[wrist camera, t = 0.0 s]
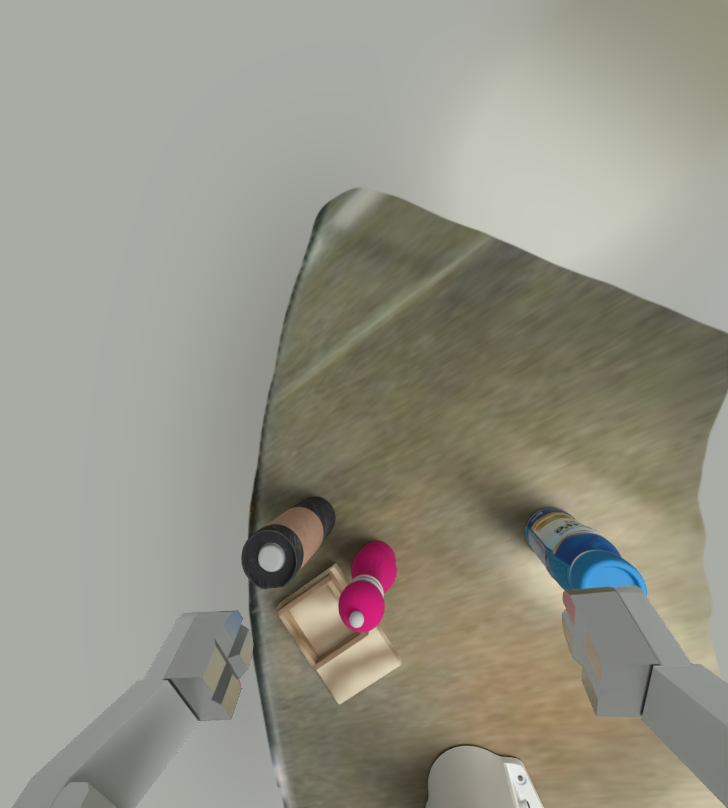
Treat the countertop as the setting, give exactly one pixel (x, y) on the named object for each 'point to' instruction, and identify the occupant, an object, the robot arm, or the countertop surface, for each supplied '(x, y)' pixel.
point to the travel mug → (287, 543)
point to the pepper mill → (367, 587)
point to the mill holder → (335, 637)
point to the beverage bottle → (578, 553)
